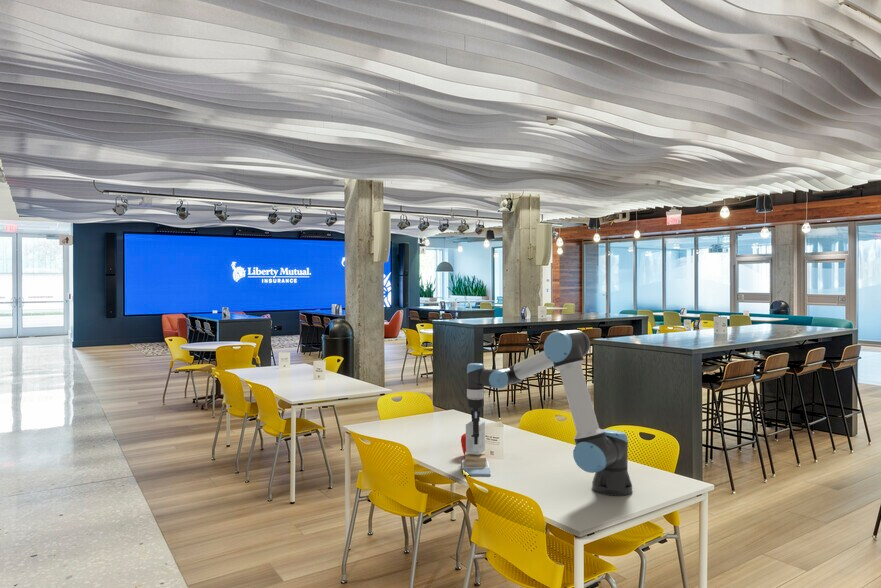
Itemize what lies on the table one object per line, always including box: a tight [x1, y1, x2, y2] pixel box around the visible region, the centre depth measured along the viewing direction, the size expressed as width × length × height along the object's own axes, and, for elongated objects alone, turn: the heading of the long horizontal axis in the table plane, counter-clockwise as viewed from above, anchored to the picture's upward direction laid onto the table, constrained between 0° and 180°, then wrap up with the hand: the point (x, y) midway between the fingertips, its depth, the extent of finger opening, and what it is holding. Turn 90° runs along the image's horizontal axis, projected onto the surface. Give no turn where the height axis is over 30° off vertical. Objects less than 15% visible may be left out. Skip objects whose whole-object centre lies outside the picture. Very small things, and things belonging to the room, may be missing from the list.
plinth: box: [464, 451, 487, 467], centre depth 261 cm, size 9×9×4 cm
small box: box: [465, 420, 486, 455], centre depth 261 cm, size 8×6×13 cm
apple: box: [460, 432, 466, 456], centre depth 277 cm, size 9×9×11 cm
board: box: [461, 459, 491, 477], centre depth 257 cm, size 20×12×1 cm, turn 178°
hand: (475, 448), depth 261 cm, fingers closed on small box, 10 cm apart
